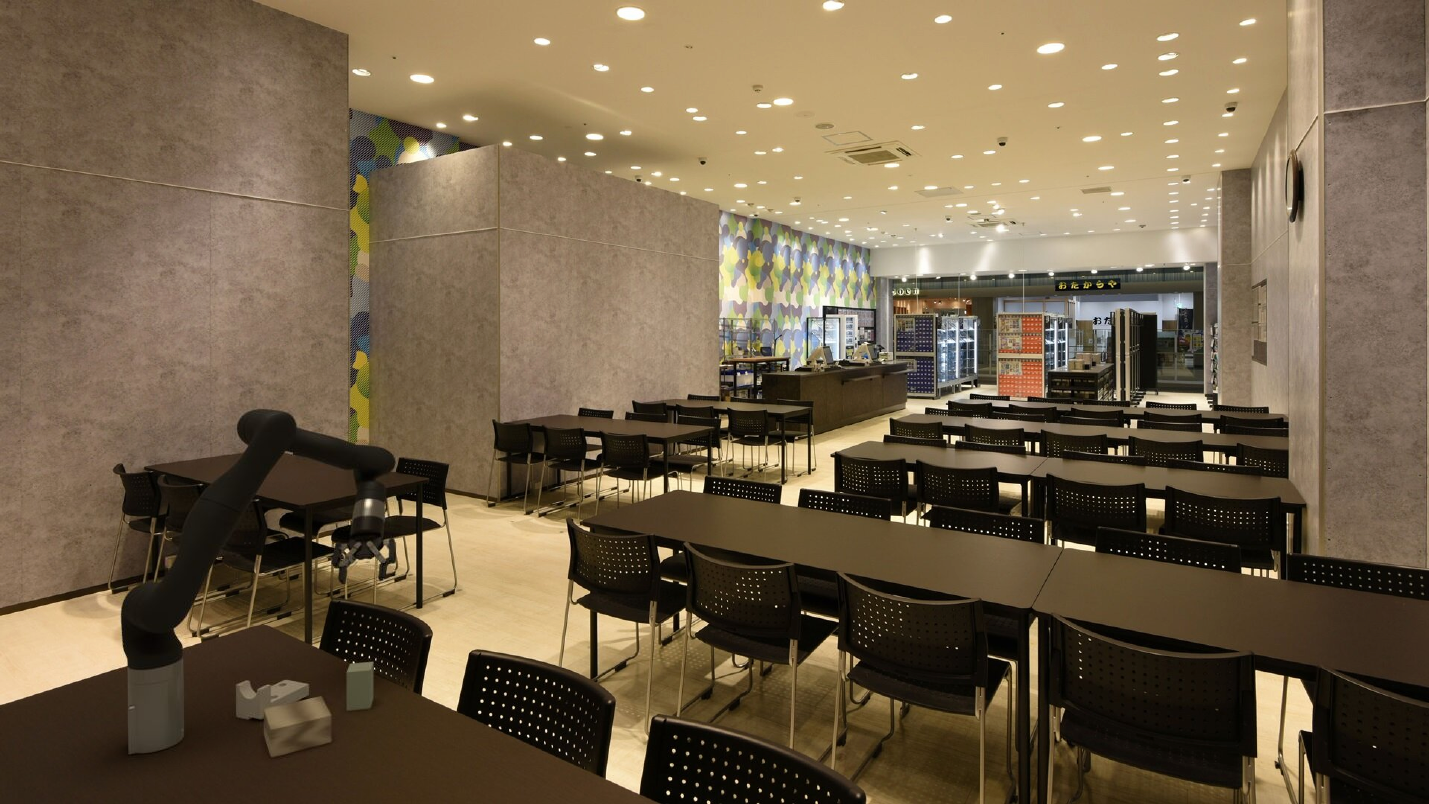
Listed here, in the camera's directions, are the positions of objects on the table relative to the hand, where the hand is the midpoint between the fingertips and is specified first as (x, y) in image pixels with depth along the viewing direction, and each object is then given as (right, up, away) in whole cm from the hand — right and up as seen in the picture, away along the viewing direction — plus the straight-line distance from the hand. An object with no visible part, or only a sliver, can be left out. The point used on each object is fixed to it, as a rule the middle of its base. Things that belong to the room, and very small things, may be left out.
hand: (361, 581), depth 181 cm
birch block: (-3, -28, -23) cm, 36 cm away
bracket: (-16, -27, -9) cm, 33 cm away
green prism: (+3, -27, -7) cm, 28 cm away
